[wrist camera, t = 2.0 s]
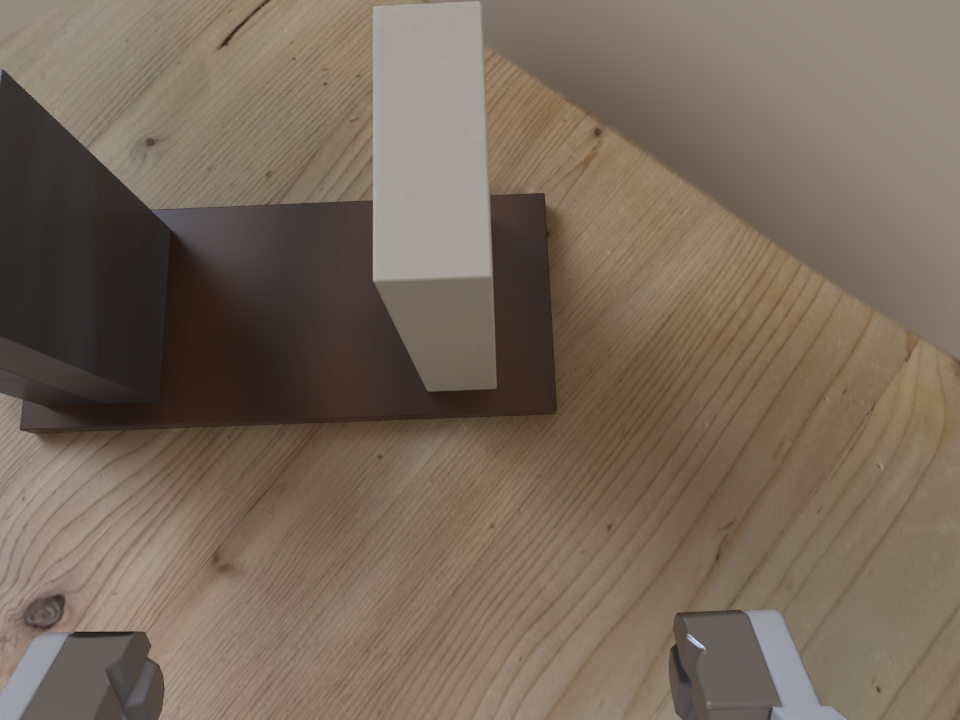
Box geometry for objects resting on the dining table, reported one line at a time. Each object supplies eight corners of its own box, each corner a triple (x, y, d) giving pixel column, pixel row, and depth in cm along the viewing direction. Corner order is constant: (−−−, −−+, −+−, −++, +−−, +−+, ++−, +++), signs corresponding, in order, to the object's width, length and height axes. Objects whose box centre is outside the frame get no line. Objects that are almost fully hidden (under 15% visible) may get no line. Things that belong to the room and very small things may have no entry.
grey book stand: (543, 202, 36) (566, 13, 23) (555, 414, 33) (588, 333, 21) (55, 222, 36) (-187, 48, 23) (32, 433, 34) (-250, 366, 21)
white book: (490, 215, 34) (482, -1, 21) (496, 389, 32) (492, 277, 19) (423, 217, 34) (372, 5, 21) (426, 392, 33) (372, 282, 19)
